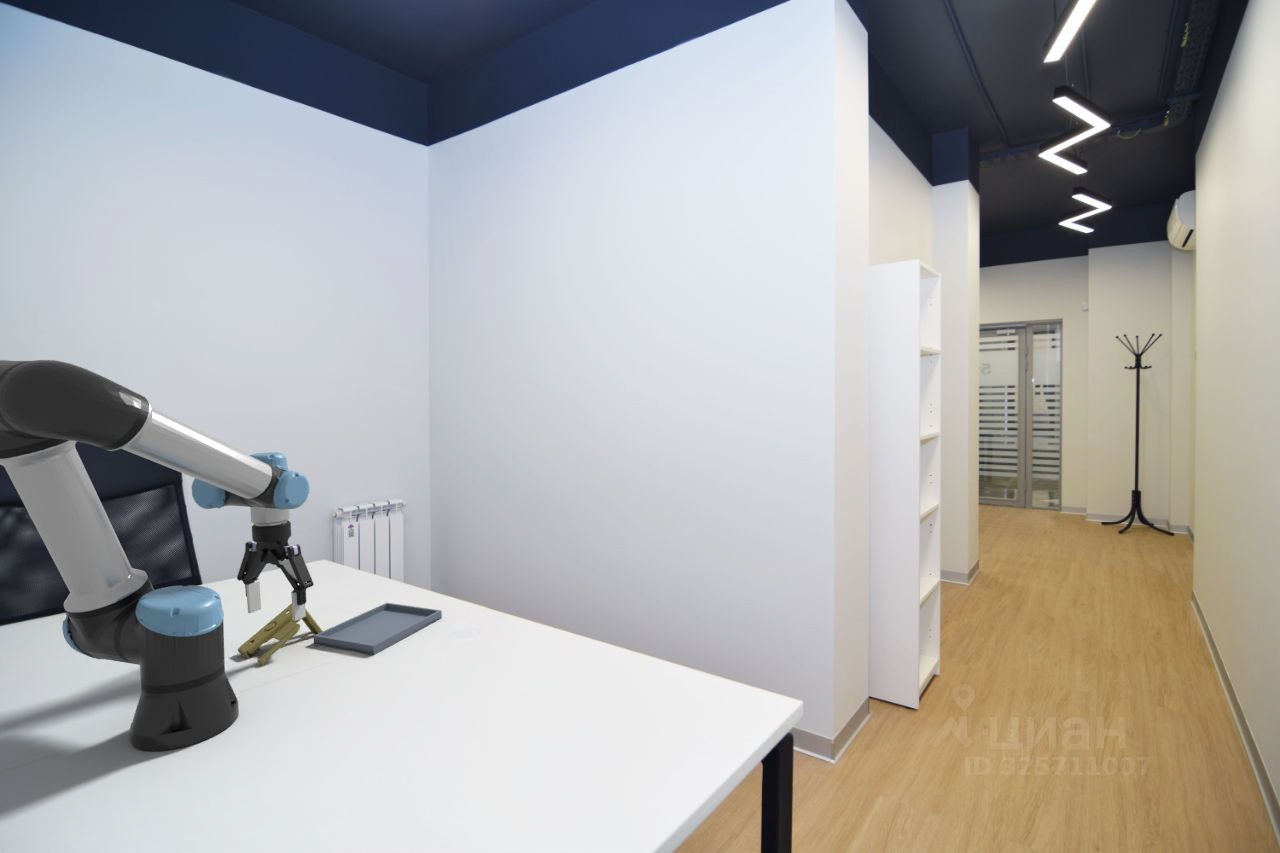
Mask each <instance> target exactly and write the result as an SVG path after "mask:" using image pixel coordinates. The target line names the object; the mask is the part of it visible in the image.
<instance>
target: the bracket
mask: <svg viewBox="0 0 1280 853" xmlns="http://www.w3.org/2000/svg"><path fill="white" fill-rule="evenodd" d="M305 610H306V617H303V618H301V619H299V620H296V621H293V613H292V603H289V605H288V606H287V607H285V608H284V609H283V610H282V611H281V612H279V613H278V614H277V615H276V616H275V617H274V618H272V619H271V620H269V621H268V623H266V624H265V625H264V626H263V627H262V628H260V629H259V630H258V631H256V633H254V634H253V635H252V636H251V637H250V638H249V639H247V640H246V641H245V642H243V643H242V644H241V645H240V646H239V647H238V649H237V651H238V653H239V654H240V655H241V656H242V657H244V658H246V659H250V658H251V656H249V654H251V655H252V654H255V653H257V652H259V651H261V646H262V645H263V644H266V643H268V642H269V641H271V640H272V639H275V640H277V641H278V642H277V643H276V644H275V645H273V646H272V647H271V648H270V649H269V650H267V652H265V653H263V655H262V656H261V657H260V658H258V659H257V663H258V664H259V665H260V666H262V667H265V665H266V664H264V662H266V661H267V660H268V659H269V658H271V657H272V656H273V655H274V654H275V653H276V652H277V651H278V650H279V649H280V648H281V647H283V646H284V645H285V644H286V643H287V642H289V641H290V640H291V639H292V638H293V637H294V636H295V635H296V634H297V633H299V631H300V630H301V624H300V623H299V622H300V621H301V620H302V622H303V623H304V624H305V625H306V627H307V628H308V629H309V632H311V633H312V632H313V633H314V632H317V634H318V633H321V632H323V631H324V630H323V629H322V628H321V627H320V625H319V624H318V623H317V622H316V620H315V619H314V618H313V616H312V615H311V614H310V613H309V611H308V610H307V608H306V607H305Z"/></svg>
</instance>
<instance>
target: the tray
mask: <svg viewBox="0 0 1280 853" xmlns="http://www.w3.org/2000/svg"><path fill="white" fill-rule="evenodd" d="M442 613H443V612H442V610H441V609H434V608H427V607H419V606H413V605H405V604H399V603H393V602H385V603H383V604H381V605H378V606H376V607H374V608H371V609H369V610H367V611H364V612H363V613H360V614H359V615H356V616H354V617H352V618H350V619H347V620H345V621H343V622H341V623H338V624H337V625H335V626H332V627H330V628H328V629H325V630H322V631H323V632H321V633H318V632H317V634H315V635H314V634H313V645H316V646H322V647H327V648H334V649H337V650H345V651H350V652H355V653H361V654H367V655H370V656H371V655H372V656H374V655H375V656H376V655H377V654H379V653H380V652H383V651H384V650H386V649H387V648H390V647H391V646H394V645H395V644H398V643H399V642H400V641H403V640H404V639H406V638H408V637H410V636H412V635H413V634H416V633H417V632H419V631H421V630H423V629H425V628H427V627H428V626H430V625H432V624H434V623H436V622H437V621H439V620H441V619H442V618H443V617H442V616H443V614H442Z"/></svg>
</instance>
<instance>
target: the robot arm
mask: <svg viewBox="0 0 1280 853" xmlns="http://www.w3.org/2000/svg"><path fill="white" fill-rule="evenodd" d="M77 442H80V443H84V444H88V445H91V446H95V447H97V448H100V449H103V450H106V451H109V452H114V451H118V450H123V451H126V452H129V453H130V454H131V453H132V454H134V455H136V456H139V457H140V458H144V459H146V460H149V461H152V462H154V463H157V464H159V465H161V466H164V467H167V468H169V469H171V470H174V471H176V472H179V473H181V474H184V475H187V476H189V477H191V478H194V479H193V480H192V484H191V495H192V496H191V497H192V498H193V501H194V502H195V503H196V504H197V506H199V507H200V508H202V509H205V510H213V509H221V508H224V507H227V506H228V507H229V506H230V507H231V506H233V507H243V508H244V507H247V508H250V522H251V523H252V524H253V525H252V526H251V537H252V538H251V539H252V540H251V541H247V542H245V543H244V544H245V545H244V554H243V558H242V560H241V563H240V565H239V566H240V567H239V569H238V573H237V576H236V579H237V581H241V582H242V583H243V585H244V589H245V597H246V601H247V602H246V603H247V613H248V614H252V613H255V612H257V611H260V610H262V603H261V602H262V601H261V600H262V599H261V584H260V581H259V579H260V578H259V577H260V575H261V573H262V571H263V570H264V569H265V567H266V565H267V564H270V565H273V566H274V565H275V566H276V567H277V568H279V569H280V570H281V572H282V574H284V576H285V578H286V580H287V581H288V582H289V584H290V585H291V588H292V589H293V590H292V591H291V593H290V594H291V604H292V613H293V618H292V619H293V621H296V620H299V619H301V618H303V617H306V610H307V609H306V610H305V608H306V604H307V589H308V588H311V587H313V586H314V585H315V584H314V581H313V579H312V576H311V574H310V572H309V569H308V567H307V564H306V562H305V560H304V557H303V554H302V549H301V548H302V547H301V546H300V544H298V543H297V544H293V545H290V544H289V539H290V538H291V537H292V523H291V521H290V520H289V519H291V510H295V509H297V508H299V507H302V506H303V505H304V503H305V502H306V501H307V499H308V497H309V494H310V490H311V489H310V482H309V480H308V478H307V477H306V476H305V475H304V474H303V473H301V472H298V471H293V470H289V467H288V460H287V456H286V455H285V454H284V453H283V452H276V451H274V452H273V451H271V452H270V451H269V452H267V451H266V452H259V453H253V454H247V453H245V452H243V451H241V450H240V449H237V448H235V447H233V446H231V445H229V444H227V443H225V442H223V441H220V440H219V439H216V438H215V437H212V436H210V435H209V434H206V433H204V432H202V431H201V430H198V429H196V428H194V427H192V426H189V425H188V424H186V423H184V422H182V421H179V420H177V419H176V418H173V417H171V416H170V415H167V414H165V413H163V412H162V411H159V410H157V409H155V408H153V407H152V406H151V403H150V401H149V399H148V398H147V397H145V396H143V395H142V394H140V393H138V392H135V391H133V390H131V389H129V388H128V387H126V386H123V385H121V384H119V383H117V382H116V381H114V380H112V379H109V378H107V377H105V376H103V375H100V374H98V373H95V372H93V371H92V370H90V369H86V368H85V367H81V366H78V365H76V364H73V363H71V362H70V363H69V362H65V361H59V360H54V359H39V360H38V359H37V360H8V359H7V360H6V359H0V466H2V467H4V469H5V471H6V473H7V474H8V476H9V478H10V480H11V482H12V484H13V486H14V488H15V489H16V492H17V494H18V496H19V498H20V499H21V501H22V503H23V505H24V507H25V509H26V511H27V513H28V515H29V517H30V519H31V521H32V522H33V524H34V526H35V528H36V530H37V532H38V533H39V535H40V538H41V539H42V542H43V544H44V545H45V547H46V549H47V551H48V553H49V555H50V557H51V558H52V560H53V563H54V565H55V566H56V568H57V570H58V572H59V574H60V576H61V577H62V580H63V582H64V584H65V585H66V587H67V589H68V592H69V594H68V596H67V597H66V599H65V600H64V602H63V608H64V610H65V615H66V617H65V619H64V620H63V621H62V629H61V630H62V634H63V638H64V639H65V642H66V643H67V645H68V646H69V647H70V648H71V649H73V651H75V652H77V653H80V654H82V655H83V656H84V655H85V656H87V657H90V658H92V659H96V660H107V661H111V662H112V661H113V662H120V663H126V664H132V665H139V670H140V672H139V673H140V686H141V692H140V696H139V699H138V703H137V704H136V709H135V712H134V714H133V719H132V722H131V723H130V727H129V739H130V740H129V741H130V744H131V746H132V747H134V748H135V749H137V750H142V751H148V752H152V751H153V752H157V751H166V750H167V751H168V750H173V749H178V748H182V747H186V746H187V747H188V746H191V745H192V744H193V745H194V744H197V743H200V742H202V741H205V740H207V739H209V738H212V737H214V736H216V735H218V734H220V733H221V732H223V731H225V730H226V729H228V728H229V727H230V726H232V725H233V724H234V722H236V720H237V719H238V717H239V701H238V698H237V696H236V693H235V691H234V689H233V688H232V685H231V683H230V680H229V679H228V677H227V675H226V665H225V638H224V637H225V634H224V633H225V632H224V627H225V626H224V616H225V615H224V614H225V613H224V610H223V604H222V600H221V596H220V594H218V592H217V591H215V589H212V588H210V587H207V586H202V585H194V584H189V585H172V586H166V587H161V588H157V589H154V586H153V584H152V582H151V580H150V578H149V576H148V574H147V572H146V571H145V570H143V569H138V568H133V567H132V565H131V564H130V561H129V559H128V557H127V555H126V552H125V551H124V549H123V547H122V545H121V543H120V540H119V538H118V536H117V535H118V534H116V531H115V530H114V528H113V525H112V523H111V520H110V519H109V517H108V514H107V512H106V510H105V508H104V506H103V504H102V502H101V499H100V498H99V496H98V493H97V491H96V489H95V486H94V485H93V483H92V480H91V478H90V476H89V474H88V472H87V470H86V467H85V465H84V464H83V461H82V459H81V457H80V455H79V453H78V450H77V449H76V444H77ZM301 620H302V619H301Z"/></svg>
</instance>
